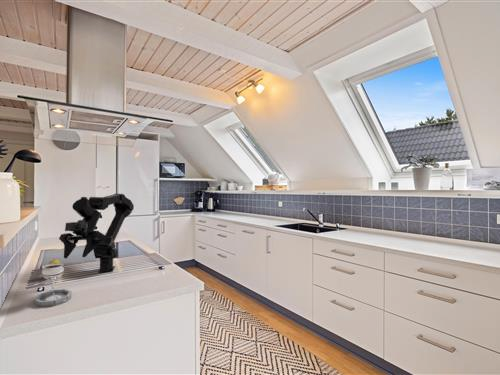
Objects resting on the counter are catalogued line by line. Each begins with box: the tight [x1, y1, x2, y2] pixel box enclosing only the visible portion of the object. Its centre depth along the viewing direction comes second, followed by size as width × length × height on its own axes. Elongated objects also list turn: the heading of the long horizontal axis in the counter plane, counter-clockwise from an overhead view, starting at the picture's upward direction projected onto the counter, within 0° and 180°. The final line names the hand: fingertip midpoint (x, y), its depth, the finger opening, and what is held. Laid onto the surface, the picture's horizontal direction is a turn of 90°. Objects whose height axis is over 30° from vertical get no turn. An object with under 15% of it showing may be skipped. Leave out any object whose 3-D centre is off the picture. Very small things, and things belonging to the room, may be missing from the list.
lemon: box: [47, 258, 62, 264], centre depth 125 cm, size 6×6×8 cm
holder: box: [33, 288, 73, 308], centre depth 104 cm, size 11×11×2 cm
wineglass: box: [41, 262, 65, 301], centre depth 103 cm, size 7×7×12 cm
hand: (74, 257), depth 112 cm, fingers open, 9 cm apart
